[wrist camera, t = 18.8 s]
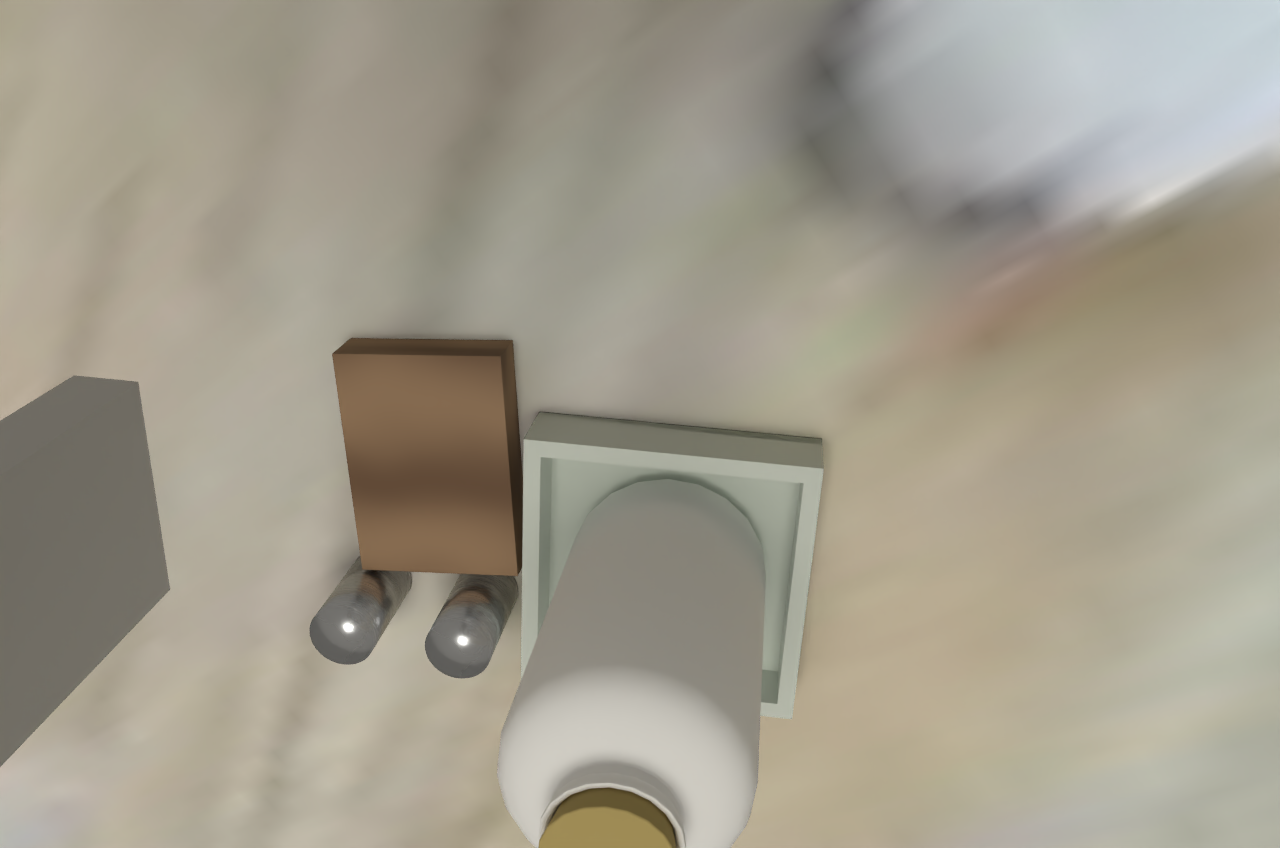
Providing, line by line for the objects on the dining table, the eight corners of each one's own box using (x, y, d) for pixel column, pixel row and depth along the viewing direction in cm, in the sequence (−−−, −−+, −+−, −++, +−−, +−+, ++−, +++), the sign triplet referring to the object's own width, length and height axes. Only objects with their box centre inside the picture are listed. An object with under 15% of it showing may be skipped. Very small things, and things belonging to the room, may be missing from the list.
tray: (539, 411, 47) (523, 439, 44) (821, 438, 46) (823, 468, 43) (535, 648, 51) (520, 686, 48) (791, 678, 50) (791, 719, 47)
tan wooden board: (354, 334, 47) (332, 353, 45) (514, 337, 46) (500, 356, 44) (381, 542, 51) (362, 569, 48) (530, 548, 50) (517, 576, 48)
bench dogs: (351, 546, 50) (307, 604, 46) (518, 565, 50) (490, 625, 45) (354, 599, 51) (311, 660, 47) (517, 618, 51) (490, 681, 46)
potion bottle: (612, 655, 50) (525, 990, 34) (549, 496, 47) (420, 775, 31) (789, 616, 48) (789, 951, 32) (733, 448, 46) (701, 718, 29)
